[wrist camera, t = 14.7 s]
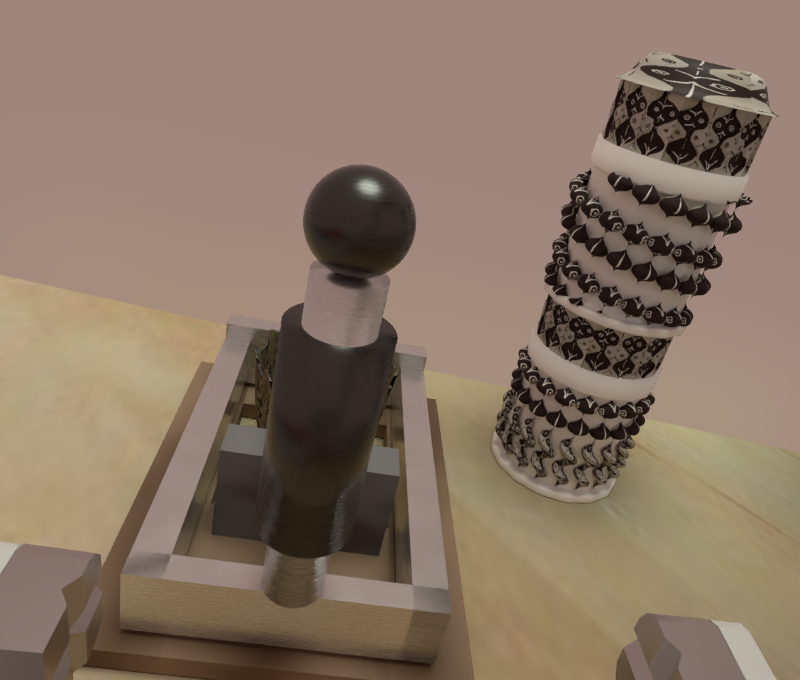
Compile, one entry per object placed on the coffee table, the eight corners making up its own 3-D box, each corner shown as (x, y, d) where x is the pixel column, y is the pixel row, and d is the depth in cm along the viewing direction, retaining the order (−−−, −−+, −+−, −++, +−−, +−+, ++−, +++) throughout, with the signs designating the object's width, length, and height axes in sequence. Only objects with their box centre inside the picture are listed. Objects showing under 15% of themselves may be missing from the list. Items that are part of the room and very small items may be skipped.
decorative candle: (650, 498, 42) (850, 96, 31) (532, 516, 38) (712, 62, 27) (568, 415, 49) (706, 63, 38) (462, 423, 45) (580, 33, 34)
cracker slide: (412, 399, 44) (488, 106, 36) (436, 691, 26) (605, 231, 17) (225, 369, 43) (256, 56, 34) (108, 656, 24) (110, 132, 16)
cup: (277, 419, 41) (294, 307, 38) (386, 459, 40) (414, 347, 37) (214, 489, 35) (227, 361, 31) (342, 540, 34) (371, 412, 30)
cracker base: (432, 411, 46) (453, 336, 43) (469, 706, 27) (510, 606, 24) (200, 374, 44) (206, 293, 41) (64, 663, 25) (60, 550, 22)
